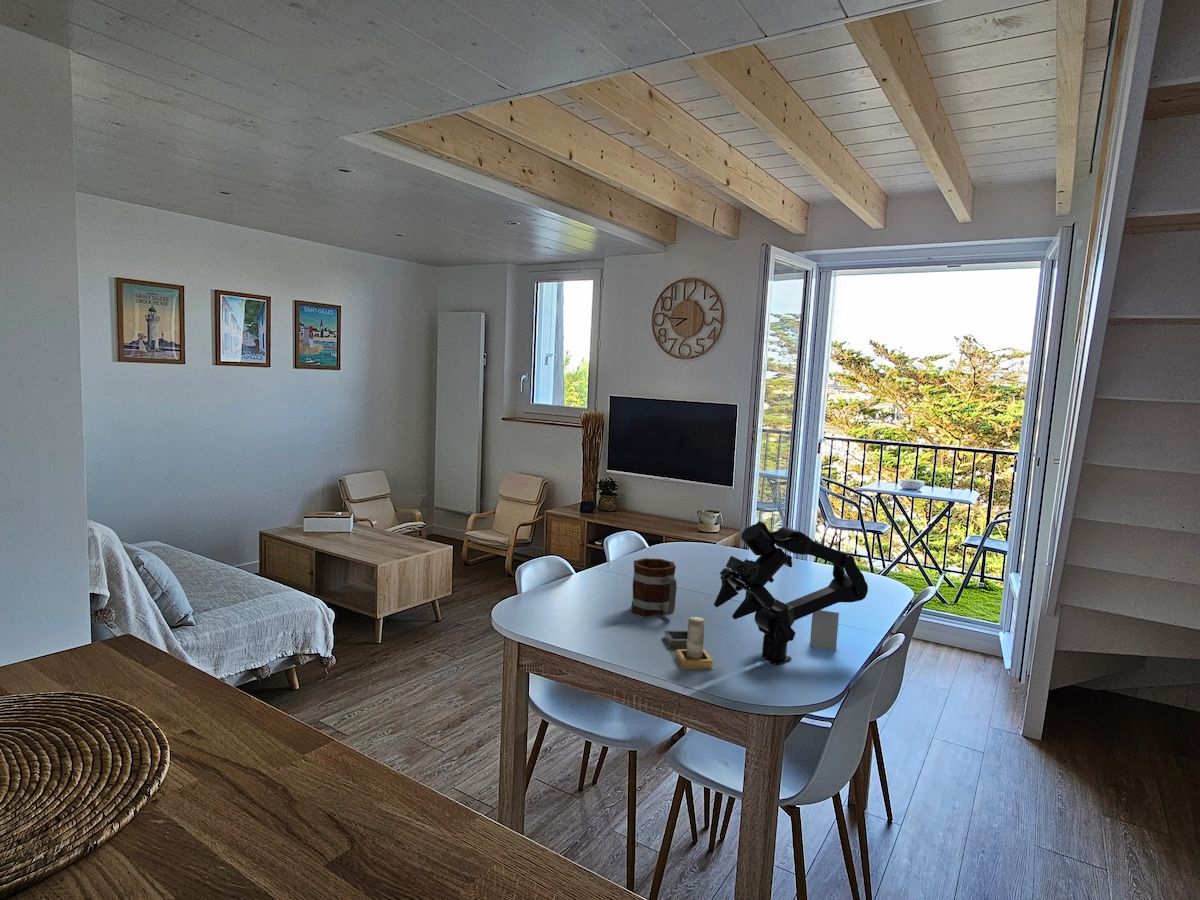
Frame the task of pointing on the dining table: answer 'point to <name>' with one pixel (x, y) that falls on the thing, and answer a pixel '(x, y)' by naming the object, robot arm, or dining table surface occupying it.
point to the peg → (695, 638)
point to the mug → (653, 587)
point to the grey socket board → (684, 651)
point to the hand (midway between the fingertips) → (723, 611)
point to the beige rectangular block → (824, 629)
